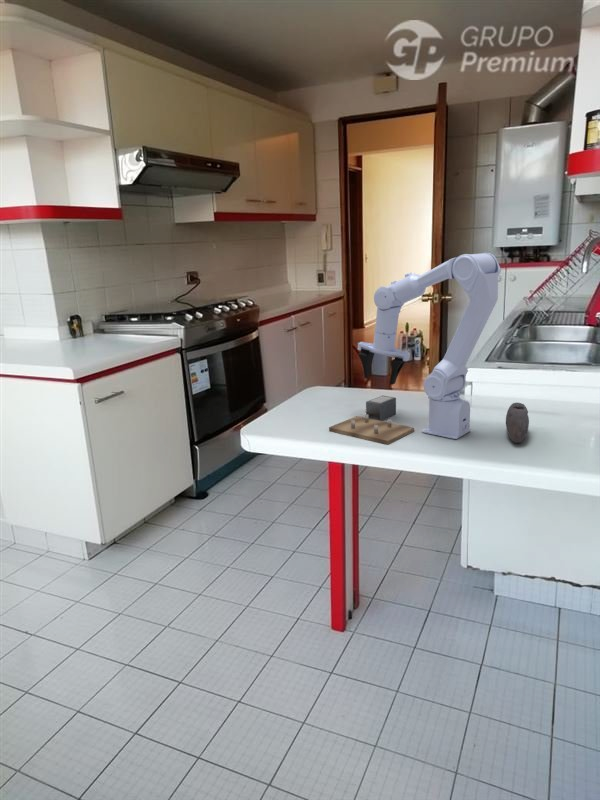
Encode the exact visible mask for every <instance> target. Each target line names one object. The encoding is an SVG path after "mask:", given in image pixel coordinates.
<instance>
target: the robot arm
mask: <svg viewBox="0 0 600 800" xmlns="http://www.w3.org/2000/svg"><path fill="white" fill-rule="evenodd" d="M501 271H502V269H501V266H500V264H499V261H498V259H497V258H496V256H495V255H494V254H492V253H489V252H482V253H471V254H469V253H464V254H460V255H459V256H457V257H456V256H455V257H453V258H450V259H448V260H446V261H444V262H443V263H440V264H439V265H437V266H436V267H434V268H432V269H430V270H428V271H426V272H424V273H423V274H419V273H415V272H414V273H412V272H408V273H405V274H404V278H401V279H399V280H393V281H390V284H389V286H385V285H382V286H380V287H379V288H377V289H376V290H375V292H374V293H373V294H374V295H373V301H374V304H375V306H376V307H377V309H376V318H375V325H374V326H375V327H374V334H373V343H372V342H366V341H360V342H357V350H358V351H359V353H358V357H359V359H360V362H361V364H362V365H361V366H362V368H363V374H364V376H363V377H364V378H365V379H368V378H369V377H371V374H372V365H373V361H374V356H375V354H378V355H381V356H386V357H390V358H393V359H391V360H390V376H389V377H390V378H389V385H391V386H393V385H394V384H396V381H397V378H398V377H399V374H400V372H401V370H402V369H403V367H404V365H405V364H406V362H408V361H410V357H411V353H410V352H409V351H406V350H405V351H404V350H401V349H399V348H396V340H397V333H398V332H397V331H398V325H399V324H398V323H399V316H400V313H401V309H402V307H403V306H404V305H405V303H408V302H410V301H412V300H415V299H417V298H419V297H421V296H423V295H424V294H425V292H426V291H427V290H426V289H427V288H429V287H431V286H433V285H437V284H438V283H441V282H444V281H446V280H448V279H451V280H456V282H457V284H458V285H460V287H461V289H463V291H464V292H465V293H466V295H467V296H468V299H469V302H468V305H467V307H466V309H465V310H464V313H463V315H462V317H461V320H460V321H459V324H458V326H457V329H456V330H455V332H454V334H453V337H452V339H451V341H450V343H449V346H448V347H447V350H446V353H445V354H444V356H443V358H442V360H440V361H439V362H438V364H436V365H435V366H434V367H433V370H432V371H431V373H429V374H428V375H427V376H426V377H425V378H424V381H423V389H424V393H425V394H426V396H428V397H427V398H428V401H429V402H428V404H429V405H428V406H429V410H428V411H429V412H428V427H425V428H424V429H422V430H421V432H422V433H425V434H429V435H435V436H439V437H444V438H449V439H454V440H458V439H459V438H461V437H462V436H464V435H466V434H467V433H469V432H471V431H472V429H471V428H470V425H471V424H470V422H471V421H470V420H471V405H470V402H469V401H468V400H465V399H462V398H461V397H460V396H461V391H462V390H463V389H465V386H466V379H467V378H466V376H467V374H468V371H469V370H468V368H467V367H466V365H467V364H468V361H469V359H470V357H471V355H472V353H473V351H474V349H475V346H476V345H477V342H478V340H479V339H480V336H481V334H482V332H483V331H484V328H485V327H486V325H487V322H488V320H489V318H490V316H491V314H492V313H493V311H494V308H495V306H496V304H497V301H498V298H499V296H498V295H499V275H500V274H501Z"/></svg>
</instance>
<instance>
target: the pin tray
mask: <svg viewBox="0 0 600 800" xmlns="http://www.w3.org/2000/svg"><path fill="white" fill-rule="evenodd" d="M386 420H387V421H384V420H383V421H379V420H374V419H369V418H368V414H366V413H365V414H364V416H363V417H362V416H358V415H356V416H353V417H351V418H348V419H347V420H343V421H341V422H338V423H337V424H334V425H330V427H328V432H332V433H337V434H341V435H345V436H350V437H354V438H358V439H363V440H367V441H370V442H375V443H380V444H383V445H387V446H388V445H390V444H392V443H395V442H396V441H398V440H400V439H402V438H404V437H406V436H408V435H410V434H412V433H414V432H415V427H413V426H408V425H403V424H397V423H393V422H392V418H387V419H386Z"/></svg>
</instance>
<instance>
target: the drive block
mask: <svg viewBox="0 0 600 800" xmlns="http://www.w3.org/2000/svg"><path fill="white" fill-rule="evenodd" d="M365 414H368V418H369V419H374V420H379V421H384V420H387V419H390V418H392V417H394V416H396V415H397V398H396V397H393V396H389V395H388V396H387V395H380V396H376V397H375V398H372V399H370V400H367V401H366V402H365Z"/></svg>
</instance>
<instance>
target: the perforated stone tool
mask: <svg viewBox="0 0 600 800" xmlns="http://www.w3.org/2000/svg"><path fill="white" fill-rule="evenodd" d="M528 413H529V411H528V408H527V407H526V405H525V404H524V403H521V402H513V403H511V405H510V406H509V407H508V409H507V411H506V415H505V427H506V431H507V433H508V436H509V438H510V440H511V441H512V442H513V443H515V444H519V443H521V442H523V441H524V440H525V438H526V436H527V435H528V431H529V426H530V418H529V415H528Z"/></svg>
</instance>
